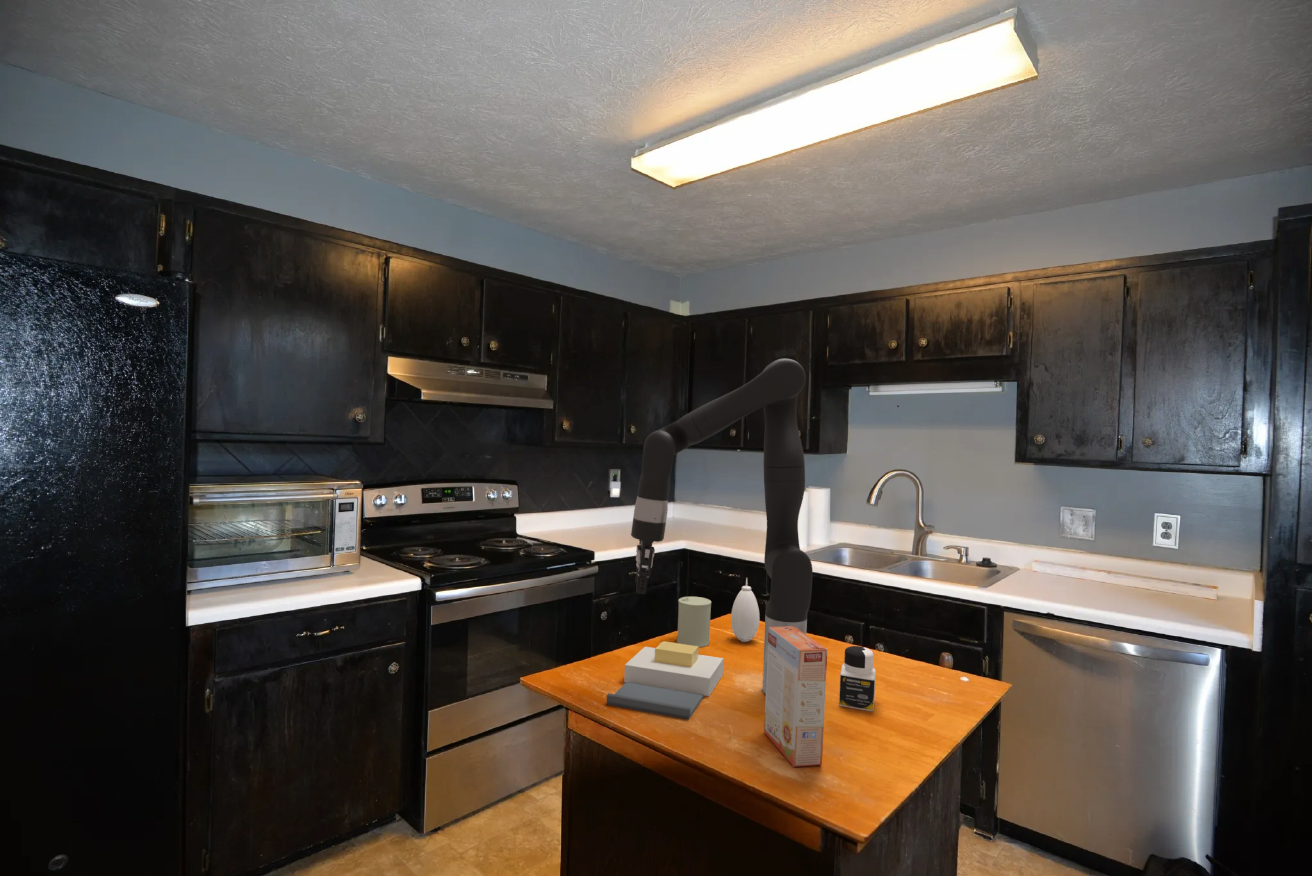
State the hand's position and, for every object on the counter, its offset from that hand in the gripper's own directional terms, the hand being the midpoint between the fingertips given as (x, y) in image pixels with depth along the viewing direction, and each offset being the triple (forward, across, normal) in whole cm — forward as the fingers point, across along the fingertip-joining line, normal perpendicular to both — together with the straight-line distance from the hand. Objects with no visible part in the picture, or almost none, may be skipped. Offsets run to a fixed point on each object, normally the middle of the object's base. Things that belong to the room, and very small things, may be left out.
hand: (640, 588), depth 148 cm
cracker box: (+19, -29, -30) cm, 46 cm away
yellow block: (+16, +5, -11) cm, 20 cm away
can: (+21, +31, -19) cm, 42 cm away
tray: (+21, -9, -6) cm, 24 cm away
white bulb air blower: (+20, +33, -34) cm, 51 cm away
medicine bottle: (+17, -8, -50) cm, 54 cm away
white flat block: (+21, +4, -11) cm, 24 cm away
